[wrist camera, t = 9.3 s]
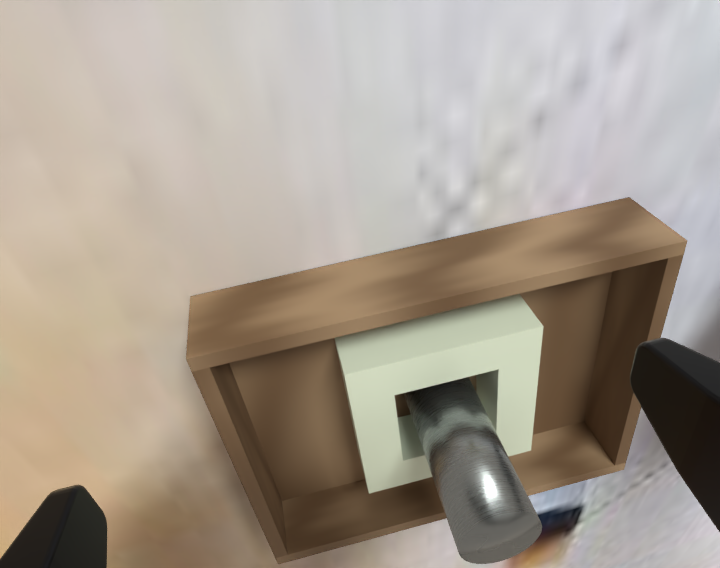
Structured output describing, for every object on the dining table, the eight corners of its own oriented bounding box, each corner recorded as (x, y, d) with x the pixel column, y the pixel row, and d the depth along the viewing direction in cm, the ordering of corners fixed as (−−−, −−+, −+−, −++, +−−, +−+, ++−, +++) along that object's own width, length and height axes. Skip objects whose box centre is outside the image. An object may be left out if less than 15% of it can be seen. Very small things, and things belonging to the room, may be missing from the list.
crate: (629, 197, 22) (687, 240, 20) (587, 417, 31) (623, 469, 28) (190, 296, 21) (186, 358, 18) (272, 500, 29) (277, 564, 26)
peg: (461, 345, 24) (543, 503, 18) (464, 390, 26) (539, 550, 20) (397, 361, 24) (456, 527, 18) (404, 406, 26) (460, 572, 20)
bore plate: (516, 290, 23) (543, 326, 21) (509, 412, 28) (530, 450, 26) (333, 334, 23) (344, 375, 21) (358, 451, 27) (369, 493, 25)
